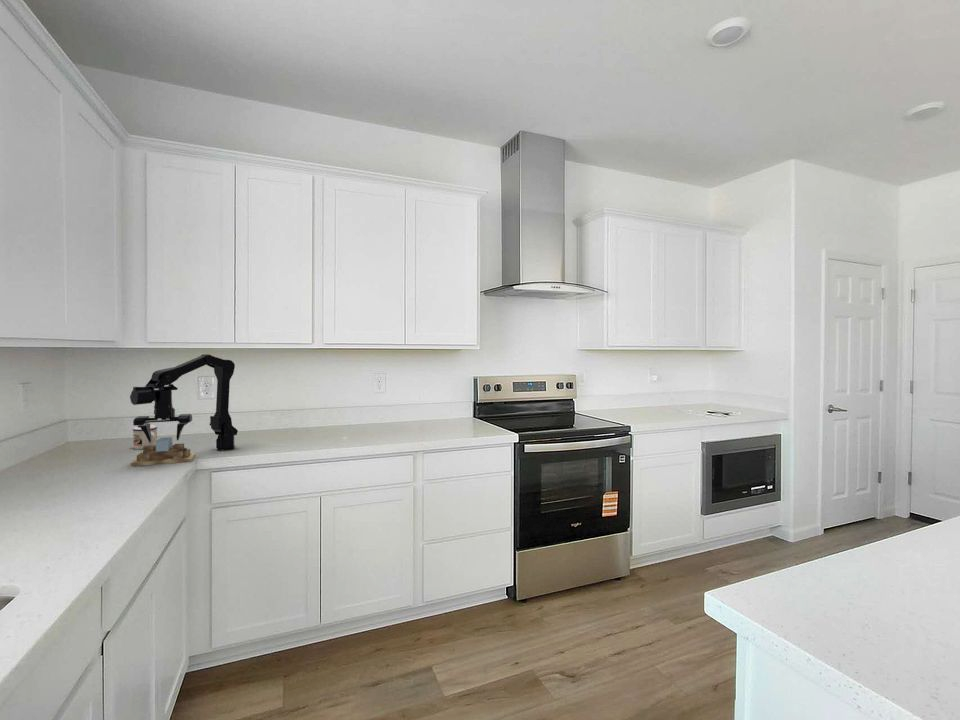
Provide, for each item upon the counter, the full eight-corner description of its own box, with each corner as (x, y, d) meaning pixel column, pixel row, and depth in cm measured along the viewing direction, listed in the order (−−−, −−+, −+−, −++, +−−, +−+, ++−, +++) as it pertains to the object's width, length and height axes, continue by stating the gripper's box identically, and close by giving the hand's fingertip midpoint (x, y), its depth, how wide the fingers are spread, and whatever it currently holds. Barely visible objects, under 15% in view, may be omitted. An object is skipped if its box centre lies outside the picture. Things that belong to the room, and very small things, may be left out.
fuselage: (184, 455, 189) (184, 443, 189) (182, 457, 185) (182, 445, 185) (146, 458, 184) (145, 445, 184) (143, 460, 181) (142, 447, 180)
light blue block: (172, 446, 189) (172, 437, 189) (168, 450, 182) (168, 440, 182) (161, 447, 188) (160, 437, 187) (156, 451, 181) (155, 441, 181)
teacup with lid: (128, 448, 207) (128, 422, 207) (151, 444, 215) (150, 419, 215) (142, 451, 201) (142, 424, 201) (165, 447, 209) (164, 421, 209)
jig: (195, 456, 193) (195, 446, 193) (191, 461, 184) (191, 451, 184) (137, 460, 185) (137, 450, 185) (130, 466, 177) (130, 455, 177)
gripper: (194, 398, 195) (195, 435, 196) (141, 400, 188) (141, 438, 189) (189, 401, 185) (189, 440, 185) (132, 404, 178) (133, 444, 178)
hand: (164, 441), depth 185 cm, fingers open, 9 cm apart
